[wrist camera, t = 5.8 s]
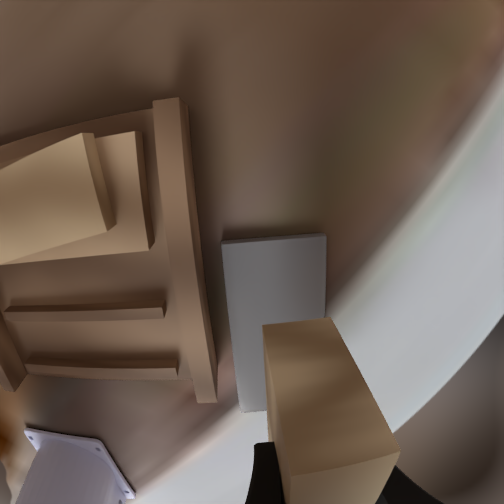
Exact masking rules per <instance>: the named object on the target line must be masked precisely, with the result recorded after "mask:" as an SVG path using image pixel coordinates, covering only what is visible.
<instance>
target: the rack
mask: <svg viewBox="0 0 504 504" xmlns="http://www.w3.org/2000/svg"><path fill="white" fill-rule="evenodd" d="M133 131H137V132H142V138H143V149H144V160H145V170H146V180H147V188H148V197H149V205H150V212H151V220H152V227H153V234H154V241H155V243H154V244H153V246H152V247H151V249H150V250H149V251H140V252H129V253H118V254H108V255H97V256H87V257H76V258H66V259H56V260H45V261H35V262H26V263H16V264H6V265H0V383H1V385H2V387H3V389H4V390H5V391H11V392H15V391H16V390H17V388H18V387H19V385H20V384H21V382H22V381H23V379H24V378H25V376H26V375H27V374H33V375H43V376H54V377H66V378H82V379H103V380H184V379H192V381H193V386H194V390H195V394H196V399H197V403H213V402H217V375H218V366H217V360H216V353H215V347H214V340H213V333H212V326H211V319H210V312H209V305H208V298H207V290H206V283H205V275H204V267H203V258H202V250H201V241H200V233H199V223H198V214H197V204H196V194H195V184H194V173H193V162H192V150H191V137H190V123H189V109H188V106H187V105H186V104H185V103H184V102H183V101H182V100H181V99H180V98H179V97H176V98H168V99H161V100H155V101H153V108H151V109H145V110H139V111H133V112H128V113H122V114H117V115H112V116H107V117H102V118H98V119H93V120H89V121H84V122H80V123H76V124H72V125H68V126H64V127H60V128H57V129H53V130H49V131H46V132H42V133H39V134H36V135H32V136H29V137H26V138H23V139H20V140H16V141H13V142H10V143H7V144H5V145H2V146H0V163H3V162H6V161H9V160H12V159H16V158H19V157H22V156H26V155H29V154H33V153H35V152H38V151H40V150H42V149H44V148H46V147H49V146H51V145H53V144H55V143H58V142H60V141H63V140H65V139H67V138H70V137H72V136H75V135H77V134H80V133H94V138H100V137H105V136H110V135H116V134H121V133H127V132H133Z"/></svg>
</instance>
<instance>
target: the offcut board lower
mask: <svg viewBox="0 0 504 504" xmlns="http://www.w3.org/2000/svg"><path fill="white" fill-rule="evenodd" d="M95 142H96V147H97V151H98V156H99V160H100V164H101V168H102V172H103V176H104V180H105V184H106V188H107V192H108V196H109V199H110V203H111V207H112V210H113V214H114V217H115V221H116V224H117V225H115V226H114V227H113V228H111V229H110V230H109V231H108V232H105V233H101V234H98V235H94V236H90V237H87V238H83V239H80V240H77V241H73V242H70V243H66V244H63V245H60V246H56V247H53V248H50V249H46V250H43V251H40V252H37V253H33V254H30V255H27V256H24V257H21V258H18V259H15V260H12V261H9V262H6V263H2V264H0V265H6V264H16V263H26V262H35V261H45V260H56V259H66V258H76V257H87V256H97V255H108V254H118V253H129V252H140V251H149V250H150V249H151V247H152V246H153V244H154V243H155V241H154V234H153V227H152V220H151V212H150V205H149V197H148V188H147V180H146V170H145V160H144V149H143V138H142V132H137V131H133V132H127V133H121V134H116V135H110V136H105V137H100V138H95ZM29 155H31V154H29ZM29 155H26V156H22V157H19V158H16V159H12V160H9V161H6V162H3V163H0V170H1V169H3V168H5V167H7V166H9V165H11V164H13V163H15V162H17V161H19V160H21V159H23V158H25V157H27V156H29Z"/></svg>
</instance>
